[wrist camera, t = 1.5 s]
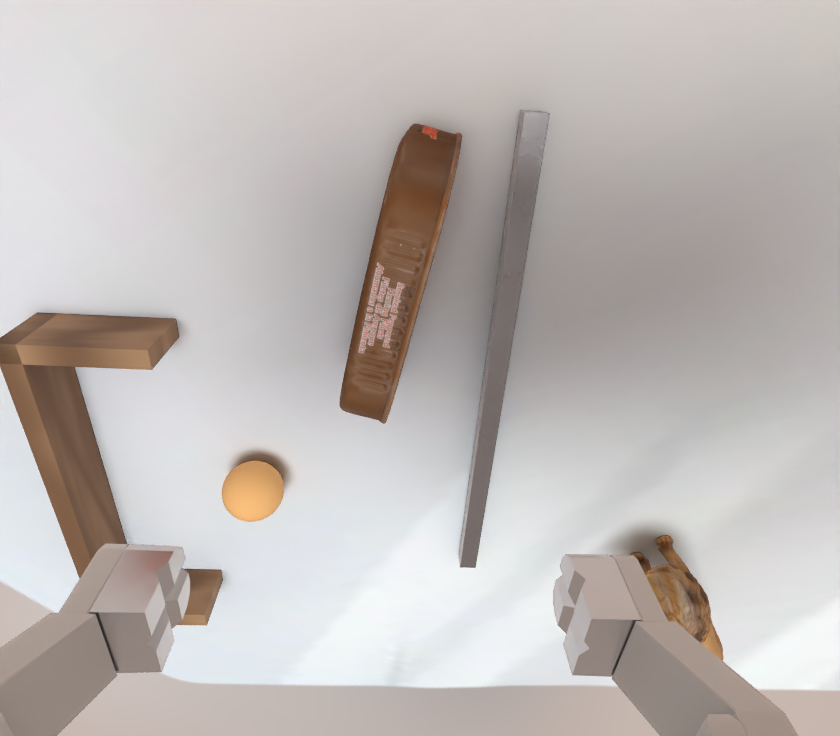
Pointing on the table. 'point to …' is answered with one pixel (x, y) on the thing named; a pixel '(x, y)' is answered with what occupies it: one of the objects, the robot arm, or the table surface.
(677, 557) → the lion figurine
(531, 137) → the rail
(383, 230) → the tin
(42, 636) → the robot arm
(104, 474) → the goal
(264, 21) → the table surface
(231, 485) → the ball
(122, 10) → the table surface
